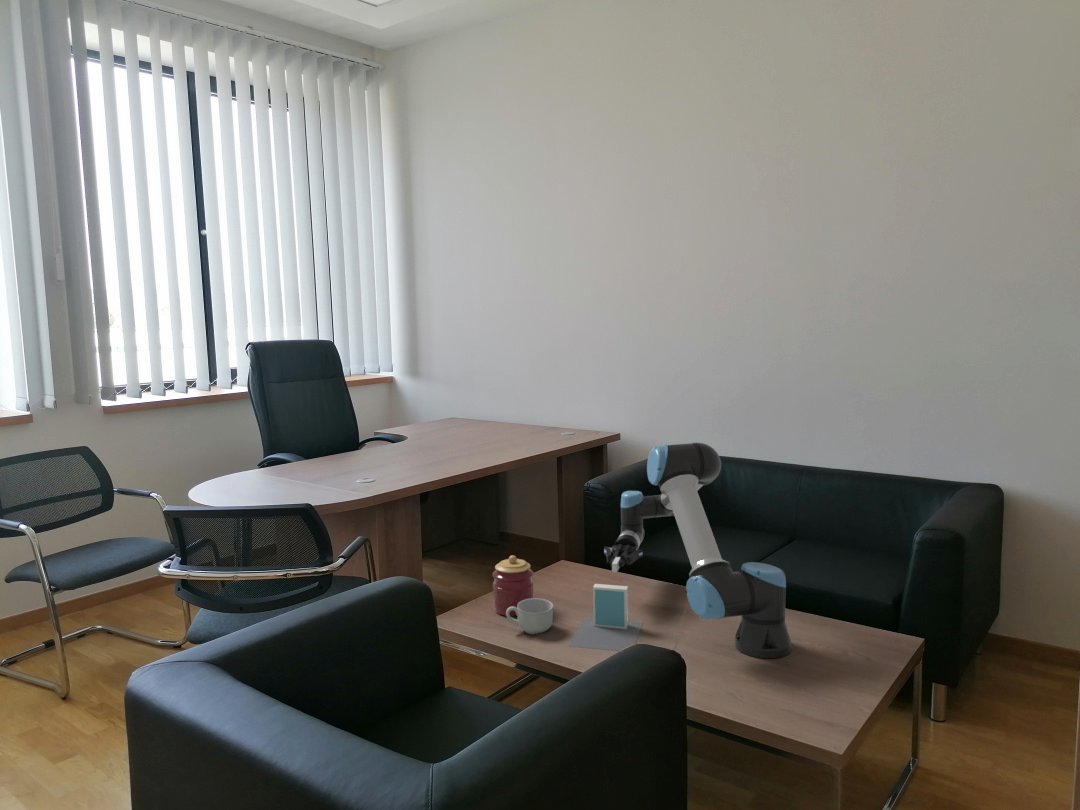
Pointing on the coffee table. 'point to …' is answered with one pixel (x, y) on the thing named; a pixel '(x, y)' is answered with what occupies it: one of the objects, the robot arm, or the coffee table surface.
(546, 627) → the teacup
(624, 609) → the tile
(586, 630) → the mat
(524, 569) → the canister
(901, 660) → the coffee table surface
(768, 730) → the coffee table surface
